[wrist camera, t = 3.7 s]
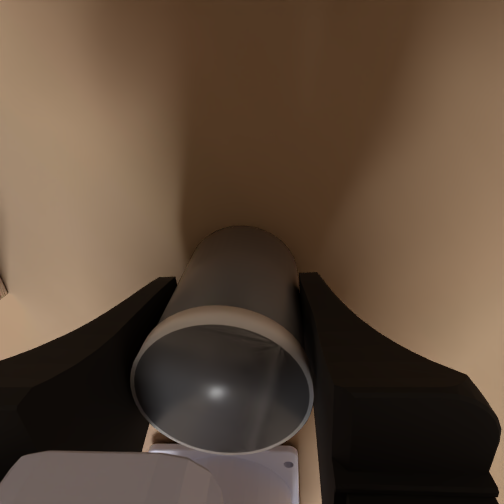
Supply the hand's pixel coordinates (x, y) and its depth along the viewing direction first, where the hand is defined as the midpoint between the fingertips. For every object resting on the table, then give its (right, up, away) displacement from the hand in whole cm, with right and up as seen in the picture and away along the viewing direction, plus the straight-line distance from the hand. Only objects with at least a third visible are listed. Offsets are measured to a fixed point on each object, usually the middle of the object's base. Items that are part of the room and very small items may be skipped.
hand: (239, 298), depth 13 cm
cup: (0, +1, +1) cm, 2 cm away
